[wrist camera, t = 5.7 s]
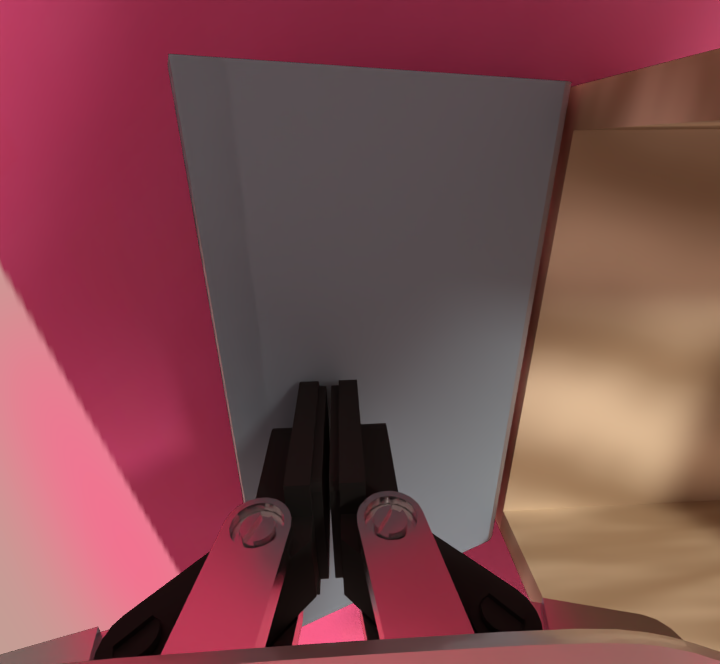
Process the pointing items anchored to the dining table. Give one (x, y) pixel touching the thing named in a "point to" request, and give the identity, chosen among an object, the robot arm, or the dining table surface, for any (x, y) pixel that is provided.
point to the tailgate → (373, 259)
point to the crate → (626, 359)
